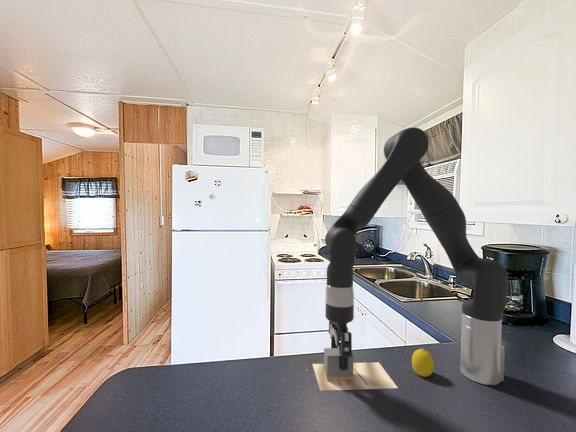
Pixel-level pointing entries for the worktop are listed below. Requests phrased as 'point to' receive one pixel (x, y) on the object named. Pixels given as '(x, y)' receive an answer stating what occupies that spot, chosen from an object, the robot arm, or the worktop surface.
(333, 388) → the board
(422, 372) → the lemon
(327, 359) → the block
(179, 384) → the worktop surface
